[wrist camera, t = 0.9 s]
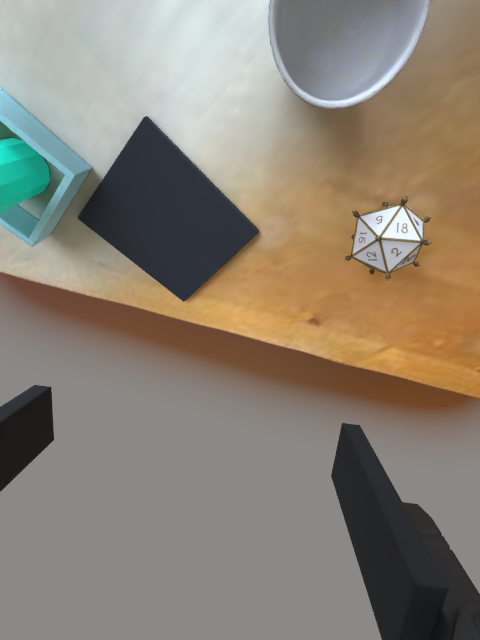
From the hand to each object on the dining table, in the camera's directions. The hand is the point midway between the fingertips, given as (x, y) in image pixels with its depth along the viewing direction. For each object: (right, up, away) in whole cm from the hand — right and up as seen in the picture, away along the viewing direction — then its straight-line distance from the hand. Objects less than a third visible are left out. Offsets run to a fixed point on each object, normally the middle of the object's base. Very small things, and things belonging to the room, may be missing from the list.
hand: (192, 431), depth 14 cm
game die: (+19, +16, +24) cm, 34 cm away
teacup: (+11, +31, +13) cm, 36 cm away
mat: (-7, +17, +25) cm, 31 cm away
